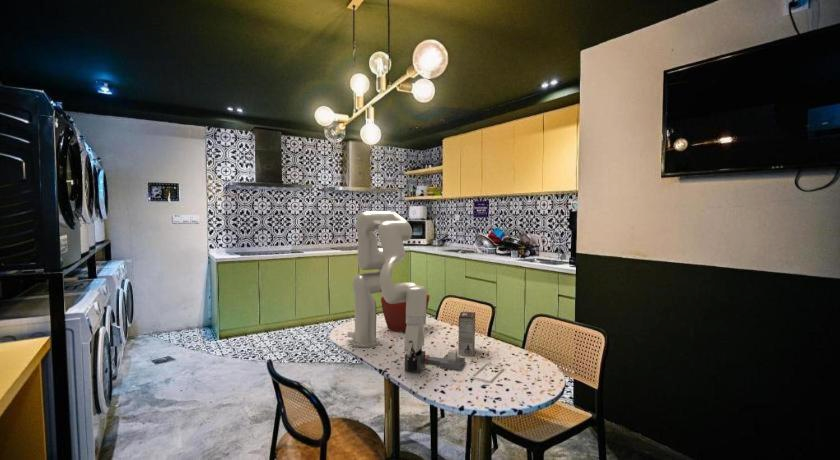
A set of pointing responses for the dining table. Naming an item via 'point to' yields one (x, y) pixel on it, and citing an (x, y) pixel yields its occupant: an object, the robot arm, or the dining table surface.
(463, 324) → the coffee box
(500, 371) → the phone case
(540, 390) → the dining table surface
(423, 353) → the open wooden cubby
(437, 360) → the ratchet
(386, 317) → the plant pot
